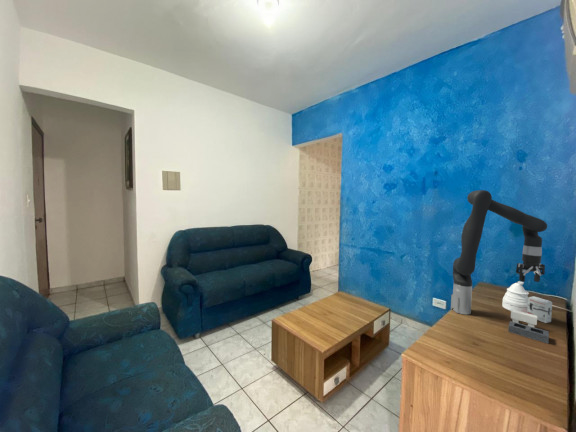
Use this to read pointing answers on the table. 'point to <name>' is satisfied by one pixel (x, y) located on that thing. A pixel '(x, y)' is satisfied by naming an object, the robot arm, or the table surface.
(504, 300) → the honey pot
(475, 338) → the table surface
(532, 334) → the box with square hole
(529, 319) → the light grey box
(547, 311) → the ink box
